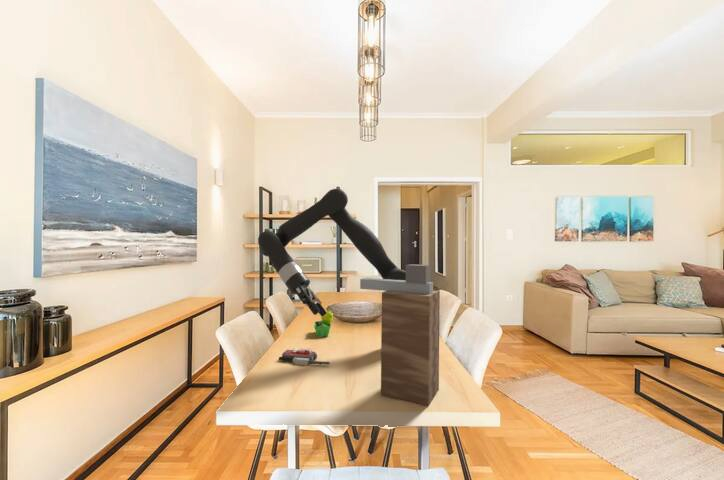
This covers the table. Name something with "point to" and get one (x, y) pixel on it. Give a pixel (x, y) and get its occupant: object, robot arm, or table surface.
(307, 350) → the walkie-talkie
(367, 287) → the gray l-shaped block
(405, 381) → the walnut stand
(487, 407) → the table surface
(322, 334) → the green potted plant
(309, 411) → the table surface
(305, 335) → the table surface
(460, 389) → the table surface
